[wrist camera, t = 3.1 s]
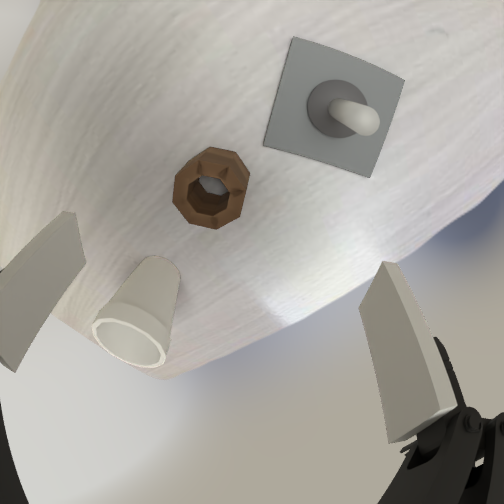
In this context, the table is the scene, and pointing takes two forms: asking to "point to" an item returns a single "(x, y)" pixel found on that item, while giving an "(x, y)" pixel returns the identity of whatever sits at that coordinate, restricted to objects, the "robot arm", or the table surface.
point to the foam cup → (140, 314)
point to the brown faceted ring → (206, 204)
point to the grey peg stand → (333, 107)
